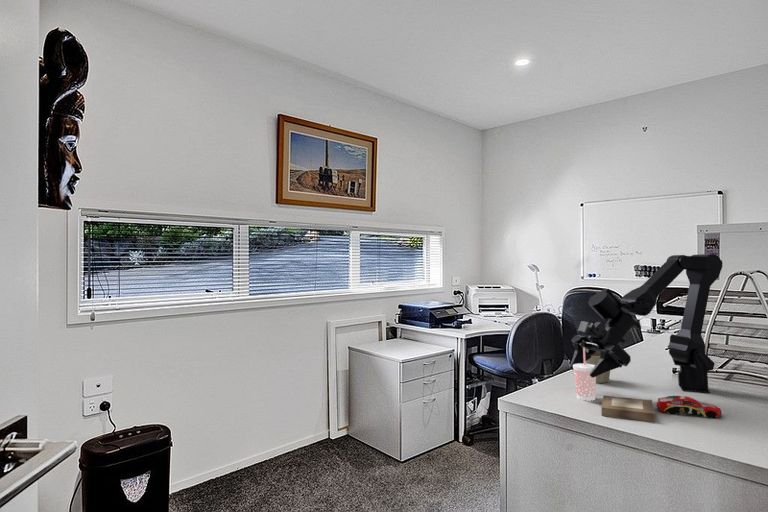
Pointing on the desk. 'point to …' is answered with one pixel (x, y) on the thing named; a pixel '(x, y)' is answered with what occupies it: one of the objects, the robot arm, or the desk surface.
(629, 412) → the walnut slab
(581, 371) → the beverage cup
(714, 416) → the race car
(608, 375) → the flower pot
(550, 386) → the desk surface
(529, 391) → the desk surface
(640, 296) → the robot arm
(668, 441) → the desk surface
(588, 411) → the desk surface
